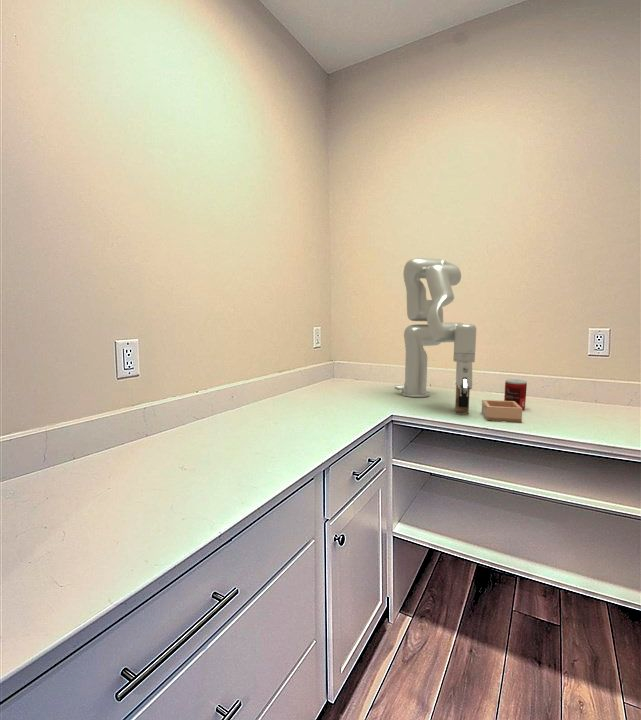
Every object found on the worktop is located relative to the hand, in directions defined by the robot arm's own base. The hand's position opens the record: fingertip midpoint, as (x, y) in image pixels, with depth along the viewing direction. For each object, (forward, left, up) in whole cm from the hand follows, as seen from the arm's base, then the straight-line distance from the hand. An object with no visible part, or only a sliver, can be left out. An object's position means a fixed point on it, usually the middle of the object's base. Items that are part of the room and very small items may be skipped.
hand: (462, 404), depth 158 cm
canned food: (+21, +12, -4) cm, 24 cm away
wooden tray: (+13, -4, -3) cm, 14 cm away
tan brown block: (0, 0, -3) cm, 3 cm away
